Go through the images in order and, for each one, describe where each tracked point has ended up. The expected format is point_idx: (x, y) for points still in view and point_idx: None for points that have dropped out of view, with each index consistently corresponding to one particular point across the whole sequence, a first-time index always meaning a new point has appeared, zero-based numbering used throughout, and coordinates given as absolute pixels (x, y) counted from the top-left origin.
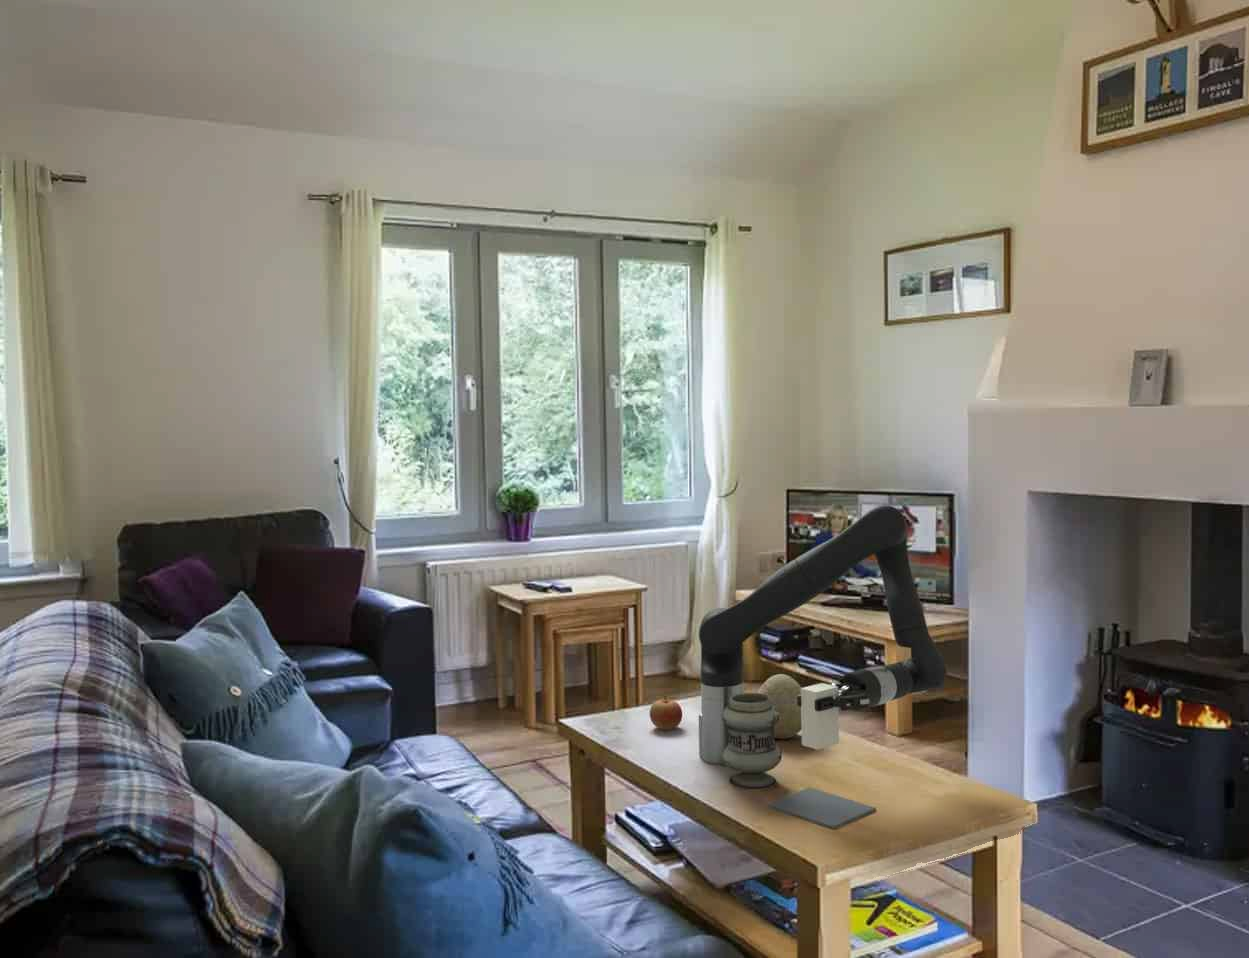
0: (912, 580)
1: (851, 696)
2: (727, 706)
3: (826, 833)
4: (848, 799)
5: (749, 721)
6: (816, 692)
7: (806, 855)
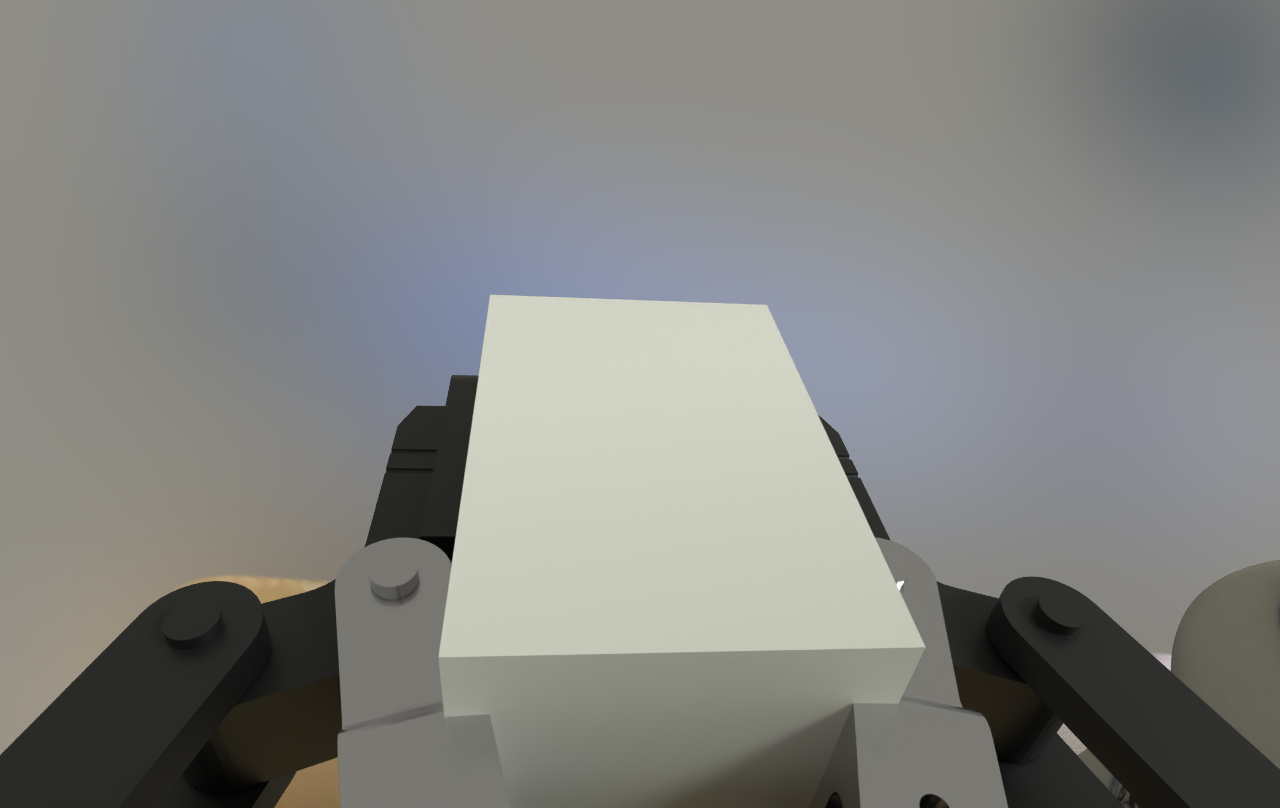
0: None
1: (34, 781)
2: None
3: (318, 799)
4: None
5: (1195, 614)
6: (489, 302)
7: (268, 590)
